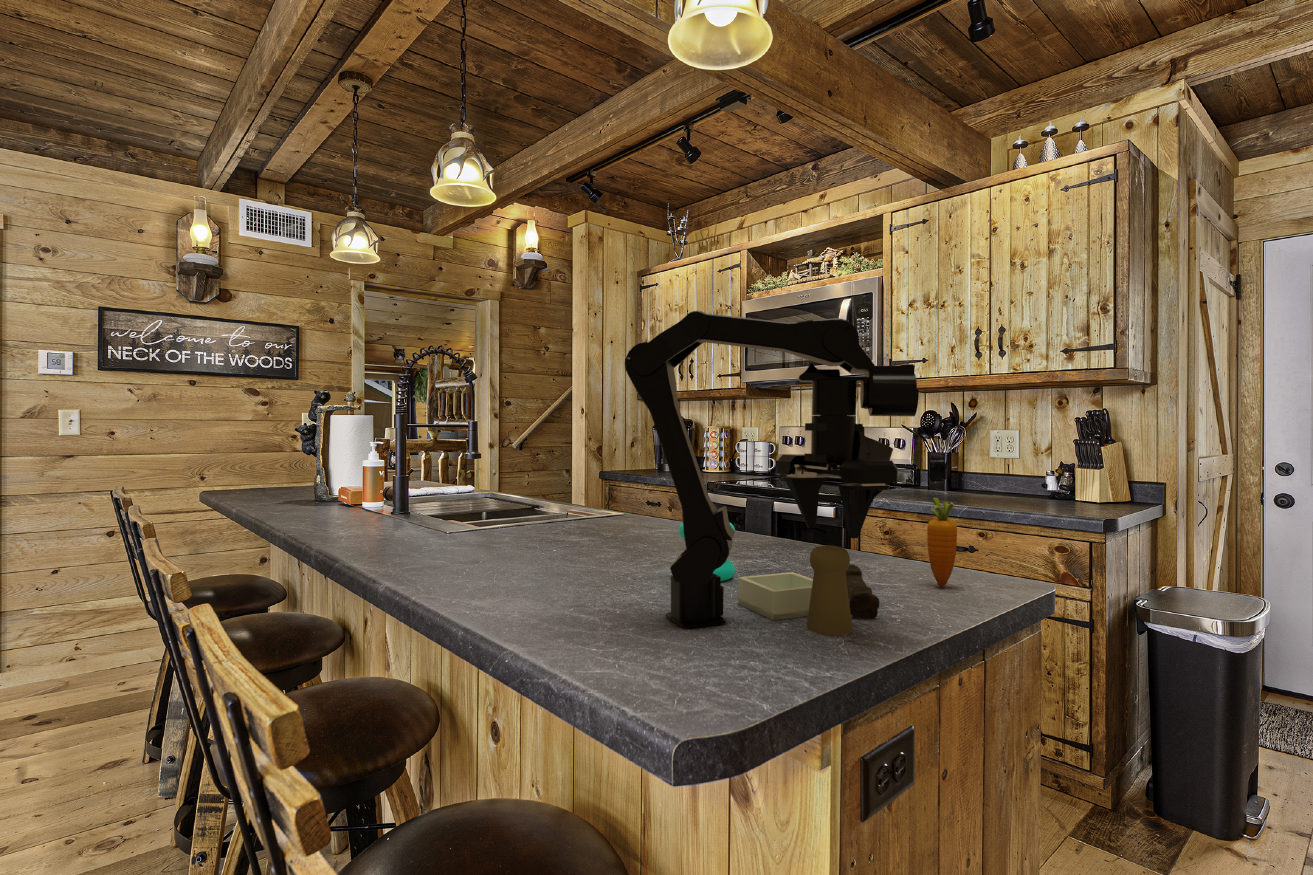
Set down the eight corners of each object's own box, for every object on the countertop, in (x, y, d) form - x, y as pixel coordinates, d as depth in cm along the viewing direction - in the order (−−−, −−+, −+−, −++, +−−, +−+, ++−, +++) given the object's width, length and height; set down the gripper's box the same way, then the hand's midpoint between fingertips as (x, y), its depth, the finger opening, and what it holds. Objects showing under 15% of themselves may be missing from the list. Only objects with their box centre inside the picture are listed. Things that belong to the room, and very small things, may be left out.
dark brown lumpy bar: (879, 622, 95) (879, 588, 95) (849, 620, 96) (850, 587, 96) (867, 590, 113) (867, 563, 113) (842, 589, 114) (842, 561, 114)
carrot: (962, 590, 112) (963, 500, 112) (932, 590, 112) (933, 499, 112) (950, 584, 117) (951, 496, 117) (921, 583, 117) (921, 496, 117)
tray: (773, 620, 95) (773, 591, 95) (738, 603, 104) (738, 577, 104) (831, 612, 98) (831, 585, 98) (792, 597, 107) (792, 572, 107)
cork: (802, 632, 89) (803, 548, 89) (810, 620, 95) (810, 541, 95) (850, 637, 87) (850, 551, 87) (855, 624, 93) (855, 544, 92)
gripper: (933, 416, 85) (930, 540, 85) (839, 417, 102) (837, 520, 103) (861, 414, 81) (858, 545, 81) (775, 416, 98) (774, 524, 98)
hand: (831, 532), depth 91 cm, fingers open, 9 cm apart
